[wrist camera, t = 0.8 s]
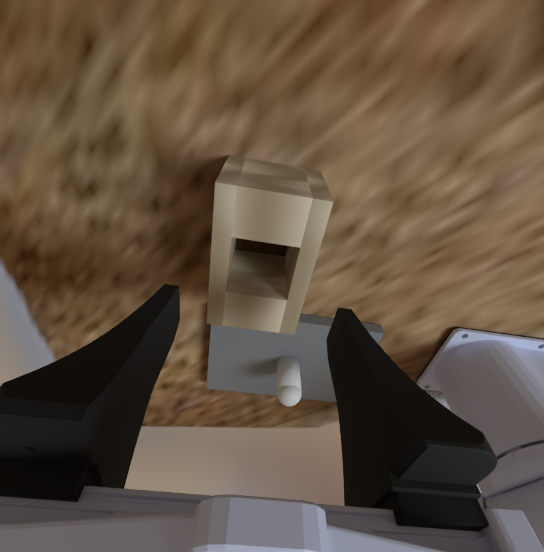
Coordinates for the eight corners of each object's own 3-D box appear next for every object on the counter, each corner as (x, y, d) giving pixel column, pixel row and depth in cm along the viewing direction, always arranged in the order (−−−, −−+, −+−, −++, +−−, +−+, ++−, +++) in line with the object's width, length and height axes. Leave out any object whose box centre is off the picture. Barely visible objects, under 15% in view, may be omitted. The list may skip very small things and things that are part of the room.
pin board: (380, 324, 26) (400, 374, 22) (345, 394, 32) (355, 444, 27) (214, 302, 25) (201, 350, 21) (208, 379, 30) (197, 429, 26)
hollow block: (321, 171, 19) (333, 201, 15) (291, 287, 24) (294, 334, 20) (229, 155, 18) (215, 182, 14) (218, 277, 23) (206, 323, 19)
